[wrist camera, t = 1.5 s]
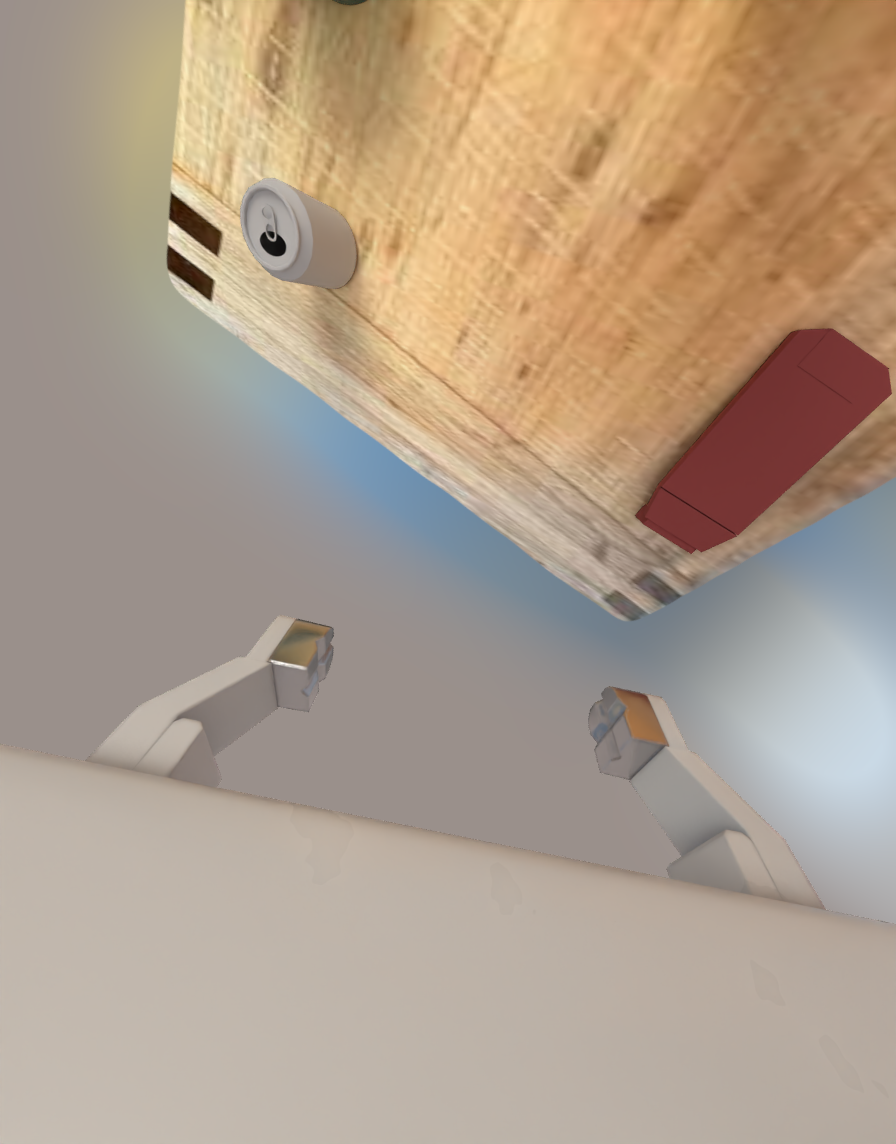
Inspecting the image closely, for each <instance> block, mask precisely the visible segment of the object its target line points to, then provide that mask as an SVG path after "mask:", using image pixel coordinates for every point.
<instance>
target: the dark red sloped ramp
mask: <svg viewBox="0 0 896 1144" xmlns="http://www.w3.org/2000/svg"><path fill="white" fill-rule="evenodd" d="M888 369H889V368H887V367H886V366H885V365H883V364H882V363H880V362H879V361H878V360H876V359H875V358H873V357H872V356H870V355H869V354H868V353H866V352H865V351H863V350H862V349H861V348H859V347H858V346H856V345H855V344H853V343H852V342H851V341H849V340H848V339H846V338H845V337H844V336H842V335H841V334H839V333H838V332H836V331H835V330H834V329H810V330H798V331H794V332H791V333H790V334H789V336H788V337H787V338H786V339H785V340H784V341H783V342H782V344H781V345H780V346H779V347H778V348H777V349H776V350H775V352H774V353H773V354H772V355H771V356H770V357H769V358H768V360H767V361H766V362H765V363H764V364H763V365H762V366H761V368H760V369H759V370H758V371H757V372H756V373H755V374H754V376H753V377H752V378H751V379H750V380H749V381H748V382H747V384H746V385H745V386H744V387H743V388H742V389H741V390H740V392H739V393H738V394H737V395H736V396H735V397H734V398H733V400H732V401H731V402H730V403H729V404H728V405H727V406H726V408H725V409H724V410H723V411H722V412H721V413H720V414H719V416H718V417H717V418H716V419H715V420H714V421H713V422H712V424H711V425H710V426H709V427H708V428H707V429H706V430H705V432H704V433H703V434H702V435H701V436H700V437H699V438H698V440H697V441H696V442H695V443H694V444H693V445H692V446H691V448H690V449H689V450H688V451H687V452H686V453H685V454H684V455H683V457H682V458H681V459H680V460H679V461H678V462H677V463H676V465H675V466H674V467H673V468H672V469H671V470H670V471H669V473H668V474H667V475H666V476H665V477H664V478H663V479H662V481H661V482H660V483H659V484H658V486H657V488H656V490H655V492H654V493H653V495H652V497H651V499H650V501H649V503H648V505H644V506H643V507H642V508H641V509H640V511H639V512H638V513H637V514H636V515H635V516H636V517H637V518H638V519H639V520H640V521H641V522H642V523H643V524H644V525H645V526H647V527H649V528H650V529H652V530H653V531H655V532H657V533H658V534H660V535H661V536H663V537H665V538H666V539H668V540H669V541H671V542H673V543H674V544H676V545H678V546H679V547H681V548H682V549H684V550H686V551H687V552H689V553H690V554H692V553H693V552H694V551H695V550H696V549H697V550H699V551H700V552H703V551H705V550H708V549H710V548H712V547H714V546H716V545H719V544H721V543H723V542H725V541H727V540H730V539H732V538H734V537H736V534H737V535H739V534H740V533H741V532H742V531H743V530H744V529H745V528H746V527H747V526H749V525H750V524H751V523H752V522H753V521H754V520H755V519H756V518H757V517H758V516H759V515H760V514H762V513H763V512H764V511H765V510H766V509H767V508H768V507H769V506H770V505H771V504H772V503H774V502H775V501H776V500H777V499H778V498H779V497H780V496H781V495H782V494H783V493H784V492H785V491H787V490H788V489H789V488H790V487H791V486H792V485H793V484H794V483H795V482H796V481H797V480H799V479H800V478H801V477H802V476H803V475H804V474H805V473H806V472H807V471H808V470H809V469H810V468H812V467H813V466H814V465H815V464H816V463H817V462H818V461H819V460H820V459H821V458H822V457H824V456H825V455H826V454H827V453H828V452H829V451H830V450H831V449H832V448H833V447H834V446H835V445H837V444H838V443H839V442H840V441H841V440H842V439H843V438H844V437H845V436H846V435H847V434H849V433H850V432H851V431H852V430H853V429H854V428H855V427H856V426H857V425H858V424H859V423H860V422H862V421H863V420H864V419H865V418H866V417H867V416H868V415H869V414H870V413H871V412H872V411H874V410H875V409H876V408H877V407H878V406H879V405H880V404H881V403H882V402H883V401H884V400H885V399H887V398H888V397H889V396H890V395H891V394H892V392H891V385H890V378H889V371H888Z"/></svg>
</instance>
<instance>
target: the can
mask: <svg viewBox="0 0 896 1144" xmlns="http://www.w3.org/2000/svg"><path fill="white" fill-rule="evenodd" d="M240 221H241V227H242V232H243V236H244V239H245V241H246V243H247V246H248V248H249V250H250V251H251V253H252V254H253V256H254V257H255V259H256V260H257V261H258V262H259V263H260V264H261V265H262V267H263V268H264V269H265V270H267V271H268V272H269V273H270V274H271V275H272V276H274V277H276V278H278V279H280V280H282V281H288V282H294V283H300V284H306V285H312V286H317V287H323V288H331V289H337V288H340V287H342V286H344V285H345V284H346V283H347V282H348V281H349V280H350V279H351V277H352V274H353V272H354V270H355V264H356V257H357V255H356V243H355V240H354V236H353V233H352V230H351V228H350V226H349V225H348V223H347V221H346V219H345V218H344V217H343V216H342V215H341V214H340V213H339V212H338V211H337V210H335V209H333V208H331V207H330V206H328V205H326V204H324V203H322V202H320V201H318V200H316V199H314V198H313V197H311V196H309V195H307V194H305V193H303V192H301V191H299V190H297V189H296V188H294V187H292V186H290V185H288V184H286V183H284V182H282V181H280V180H278V179H276V178H264V179H262V180H261V181H259V182H258V183H256V184H254V185H252V186H251V187H249V188H248V190H247V191H246V193H245V195H244V196H243V199H242V204H241V208H240Z"/></svg>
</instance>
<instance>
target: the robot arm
mask: <svg viewBox="0 0 896 1144" xmlns="http://www.w3.org/2000/svg"><path fill="white" fill-rule="evenodd" d="M333 634H334V632H333V628H332V627H329V626H325V625H321V624H317V623H313V622H309V621H304V620H300V619H295V618H290V617H286V616H282V615H280V616H279V617H277V618H276V619H275V620H274V621H273V623H272V624H271V625H270V626H269V627H268V629H267V630H266V631H265V633H264V634H263V635H262V636H261V638H260V639H259V640H258V642H257V643H256V644H255V646H254V647H253V648H252V649H251V651H250V652H249V653H248V655H247V656H246V657H238V658H236V659H234V660H232V661H230V662H227V663H225V664H223V665H221V666H219V667H217V668H215V669H213V670H211V671H209V672H207V673H205V674H203V675H201V676H199V677H197V678H195V679H193V680H190V681H189V682H186V683H184V684H182V685H180V686H178V687H176V688H174V689H172V690H170V691H168V692H166V693H164V694H162V695H160V696H158V697H156V698H154V699H151V700H150V701H148V702H145V703H143V704H141V705H139V706H137V708H135V709H134V710H133V712H132V713H131V714H130V715H129V716H128V717H127V718H126V719H125V720H124V721H123V722H122V723H121V724H120V725H119V726H118V727H117V728H116V729H115V730H114V731H113V732H112V733H111V734H110V736H108V738H106V740H105V741H104V742H103V743H102V744H101V745H100V746H99V747H98V748H97V749H96V750H95V751H94V752H93V753H92V754H91V755H90V756H89V757H88V758H87V759H86V760H85V761H82V760H77V759H73V758H67V757H63V756H58V755H53V754H48V753H43V752H37V751H33V750H28V749H23V748H18V747H13V746H8V745H3V744H0V1144H896V924H894V923H888V922H883V921H879V920H873V919H869V918H864V917H859V916H854V915H849V914H844V913H839V912H834V911H829V910H826V909H825V907H824V905H823V904H822V902H821V900H820V899H819V897H818V895H817V893H816V892H815V890H814V889H813V887H812V885H811V883H810V882H809V880H808V878H807V876H806V875H805V873H804V871H803V870H802V868H801V867H800V864H799V863H798V861H797V859H796V858H795V856H794V854H793V853H792V851H791V849H790V847H789V846H788V844H787V842H786V841H785V840H784V838H782V837H781V836H780V835H779V834H778V833H777V832H776V831H775V830H774V829H773V828H772V827H771V826H770V825H769V824H768V823H767V822H766V821H765V820H764V819H763V818H762V817H761V816H760V815H759V814H758V813H757V812H755V810H754V809H753V808H752V807H750V806H749V805H748V804H747V803H746V802H745V801H744V800H743V799H742V798H741V797H740V796H739V795H738V794H737V793H736V792H735V791H734V790H733V789H732V788H731V787H730V786H729V785H728V784H727V783H726V782H725V781H724V780H723V779H721V777H720V776H718V775H717V774H716V773H715V772H714V771H713V770H712V769H711V768H710V767H709V766H708V765H707V764H706V763H705V762H704V761H703V760H702V759H701V758H700V757H699V756H698V755H697V754H696V753H694V752H691V751H689V750H688V747H687V745H686V743H685V741H684V739H683V737H682V735H681V733H680V731H679V729H678V727H677V725H676V723H675V721H674V719H673V717H672V714H671V713H670V710H669V708H668V706H667V704H666V702H665V701H664V700H663V699H662V698H661V697H659V696H654V695H649V694H645V693H640V692H635V691H630V690H625V689H621V688H616V687H610V686H609V687H607V688H605V689H604V691H603V692H602V698H603V699H602V700H600V701H598V702H595V703H594V705H593V706H592V708H591V709H590V713H589V718H588V724H589V730H590V734H591V736H592V737H593V738H594V739H595V741H596V742H597V745H596V748H595V754H596V758H597V762H598V765H599V770H600V773H604V774H608V775H612V776H616V777H620V778H624V779H628V780H630V781H629V782H630V783H631V785H632V786H633V788H634V789H635V790H636V792H637V793H638V794H639V796H640V798H641V799H642V800H643V802H644V803H645V805H646V806H647V807H648V809H649V810H650V812H651V813H652V815H653V816H654V817H655V819H656V820H657V822H658V823H659V825H660V826H661V827H662V829H663V830H664V832H665V833H666V835H667V836H668V837H669V839H670V840H671V842H672V843H673V844H674V846H675V847H676V849H677V850H678V852H679V853H680V855H681V856H682V857H680V858H679V859H677V860H675V861H674V862H672V863H670V864H669V866H668V867H667V872H668V875H669V878H665V877H660V876H655V875H650V874H645V873H639V872H635V871H630V870H625V869H620V868H615V867H610V866H605V865H600V864H595V863H590V862H585V861H580V860H575V859H570V858H566V857H560V856H556V855H551V854H546V853H541V852H536V851H531V850H526V849H521V848H516V847H511V846H506V845H501V844H496V843H491V842H486V841H481V840H476V839H471V838H466V837H461V836H456V835H451V834H446V833H441V832H436V831H431V830H427V829H422V828H416V827H412V826H406V825H402V824H396V823H392V822H387V821H381V820H377V819H372V818H367V817H362V816H357V815H352V814H347V813H342V812H337V811H332V810H326V809H322V808H317V807H312V806H307V805H302V804H296V803H292V802H287V801H282V800H277V799H272V798H267V797H262V796H257V795H252V794H247V793H242V792H237V791H232V790H227V789H222V788H217V786H218V785H219V783H220V782H221V780H222V779H221V774H220V771H219V769H218V766H217V763H216V761H215V758H214V756H215V755H217V754H218V753H219V752H221V751H222V750H223V749H225V748H226V747H227V746H228V745H230V744H231V743H233V742H234V741H235V740H236V739H238V738H239V737H241V736H242V735H243V734H245V733H246V732H247V731H248V730H250V729H251V728H253V727H254V726H255V725H256V724H258V723H259V722H261V721H262V720H263V719H264V718H266V717H267V716H268V715H270V714H271V713H272V712H273V711H275V710H276V709H277V708H278V707H283V708H288V709H294V710H300V711H305V712H309V710H310V708H311V706H312V704H313V702H314V700H315V698H316V696H317V694H318V692H319V682H320V681H322V680H324V679H325V678H326V676H327V673H328V671H329V668H330V665H331V662H332V658H333V646H332V645H331V643H330V642H331V641H332V638H333V636H334V635H333Z"/></svg>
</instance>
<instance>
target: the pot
mask: <svg viewBox="0 0 896 1144" xmlns="http://www.w3.org/2000/svg"><path fill="white" fill-rule="evenodd" d="M333 1H336V2H338V3H341V4H347V5H353V4H359V3H362V2H365V1H366V0H333Z"/></svg>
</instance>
